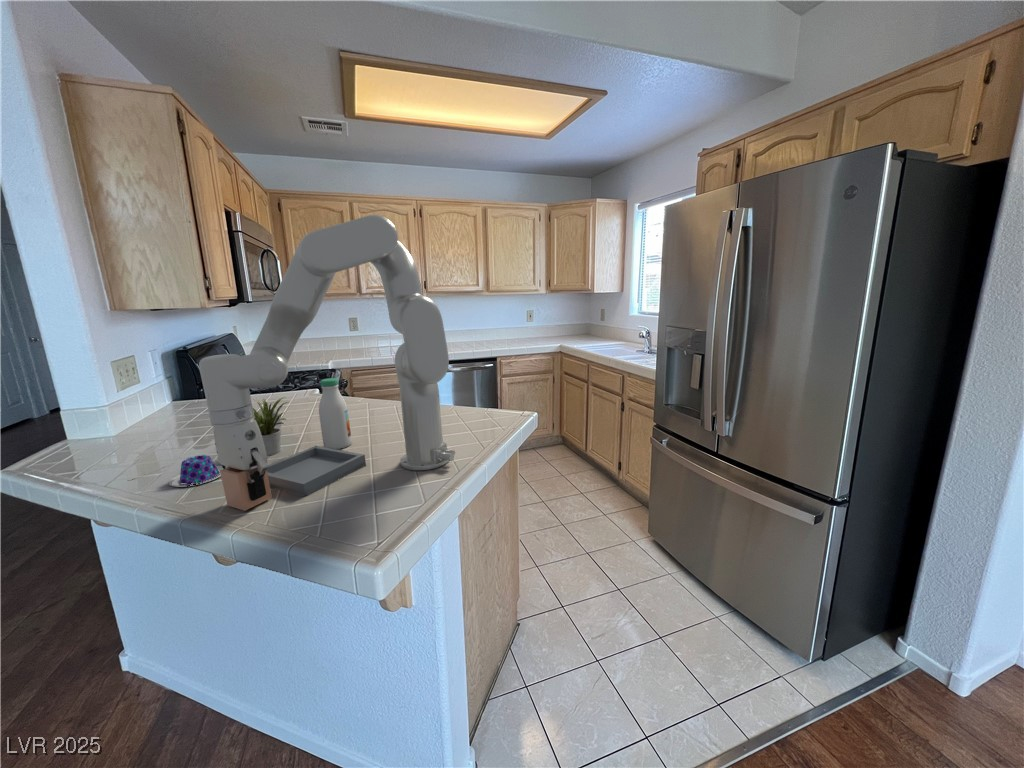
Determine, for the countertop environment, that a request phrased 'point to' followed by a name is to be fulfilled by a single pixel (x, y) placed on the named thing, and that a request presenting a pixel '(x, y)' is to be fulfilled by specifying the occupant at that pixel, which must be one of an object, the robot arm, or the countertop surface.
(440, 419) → the robot arm
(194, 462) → the purple dotted hat
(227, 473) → the open square box
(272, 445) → the house plant
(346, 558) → the countertop surface
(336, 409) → the milk bottle
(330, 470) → the tray
